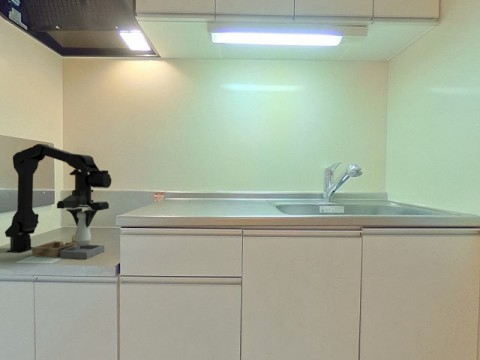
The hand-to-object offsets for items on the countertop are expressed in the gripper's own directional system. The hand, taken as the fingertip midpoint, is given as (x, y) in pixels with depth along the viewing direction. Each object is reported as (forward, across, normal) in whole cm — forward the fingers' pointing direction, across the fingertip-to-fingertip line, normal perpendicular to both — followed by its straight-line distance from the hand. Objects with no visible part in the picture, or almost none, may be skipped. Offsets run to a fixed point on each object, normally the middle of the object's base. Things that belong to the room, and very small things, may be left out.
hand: (82, 227), depth 119 cm
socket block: (+11, -12, 0) cm, 16 cm away
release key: (+11, -12, +8) cm, 18 cm away
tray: (+11, 0, 0) cm, 11 cm away
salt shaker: (+7, 0, 0) cm, 7 cm away
